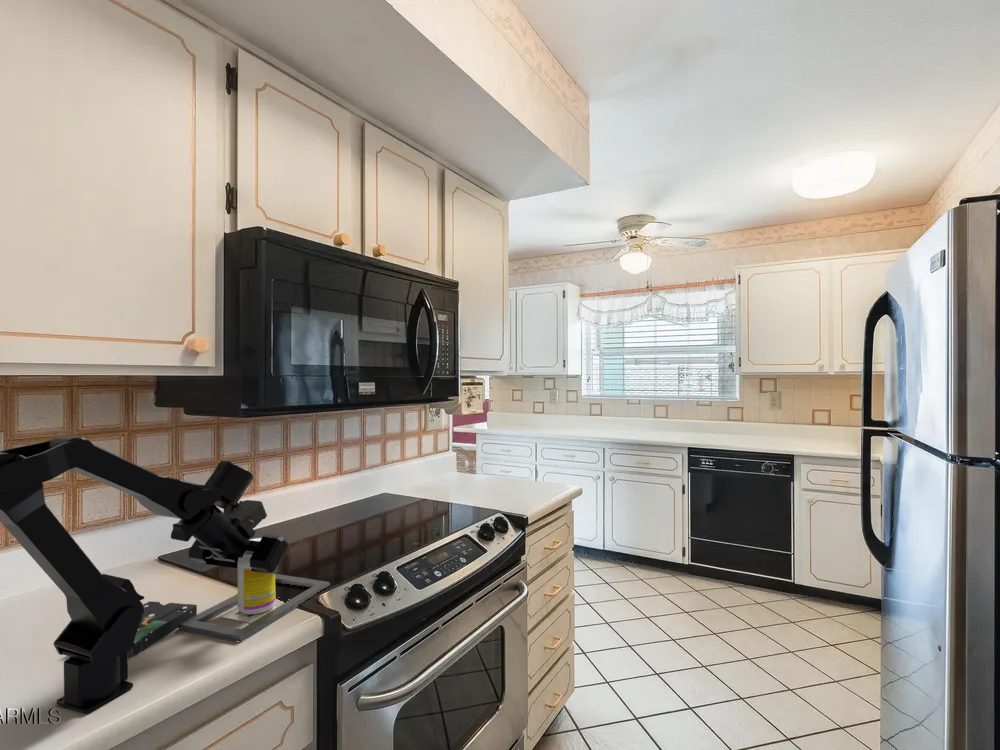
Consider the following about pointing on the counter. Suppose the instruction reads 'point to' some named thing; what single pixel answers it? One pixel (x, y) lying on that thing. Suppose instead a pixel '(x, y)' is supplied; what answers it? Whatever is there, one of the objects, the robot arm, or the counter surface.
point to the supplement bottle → (254, 587)
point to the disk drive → (159, 623)
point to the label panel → (256, 620)
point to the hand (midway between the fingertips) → (262, 569)
